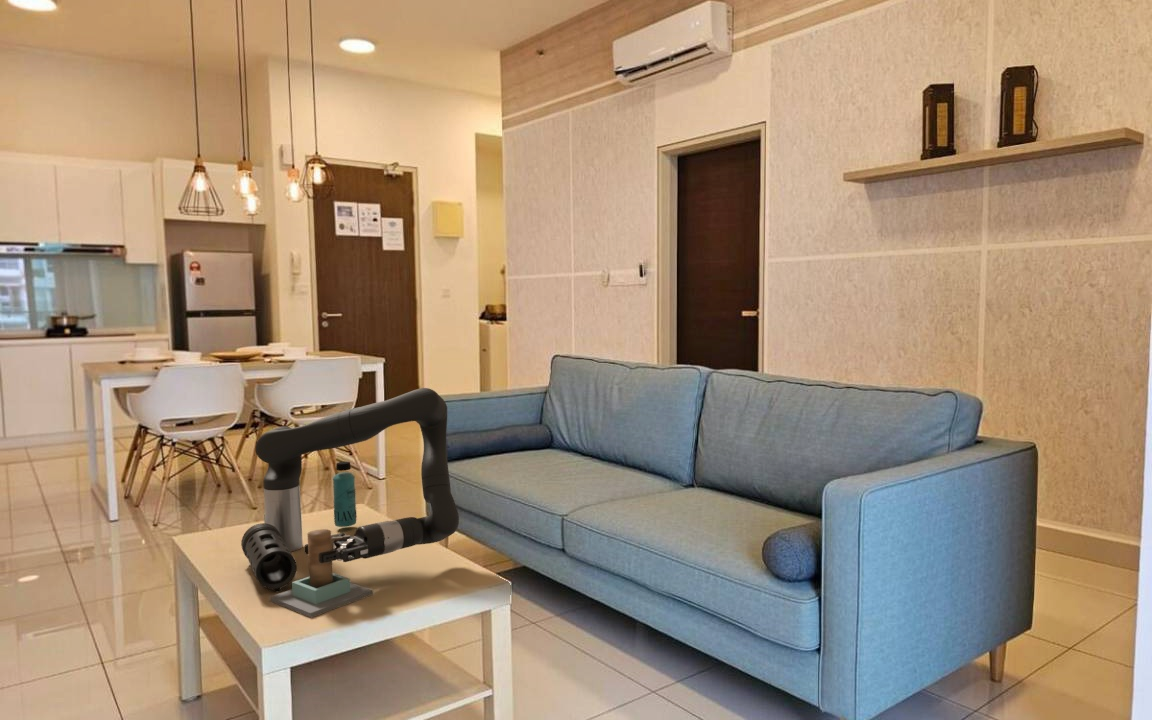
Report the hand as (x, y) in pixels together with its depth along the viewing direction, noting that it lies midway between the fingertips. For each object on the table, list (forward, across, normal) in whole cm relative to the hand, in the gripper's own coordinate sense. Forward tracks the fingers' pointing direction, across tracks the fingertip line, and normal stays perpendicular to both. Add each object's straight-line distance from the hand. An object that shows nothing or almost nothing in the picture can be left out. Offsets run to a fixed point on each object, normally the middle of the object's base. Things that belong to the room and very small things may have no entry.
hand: (312, 554), depth 173 cm
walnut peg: (-2, 0, +10) cm, 10 cm away
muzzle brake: (+2, -24, +11) cm, 26 cm away
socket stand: (-2, 0, +10) cm, 11 cm away
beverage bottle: (-28, -49, +11) cm, 57 cm away
